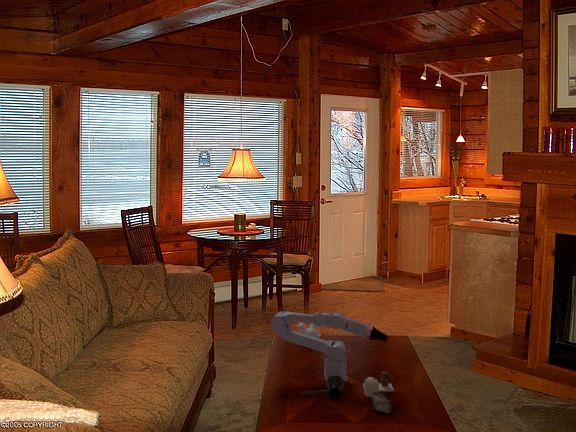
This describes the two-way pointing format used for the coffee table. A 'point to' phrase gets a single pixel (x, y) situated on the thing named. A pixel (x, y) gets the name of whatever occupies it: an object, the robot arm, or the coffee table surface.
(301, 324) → the character figurine
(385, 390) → the grey board
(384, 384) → the walnut post
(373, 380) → the beige block
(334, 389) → the coffee pot
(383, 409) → the mineral rock
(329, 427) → the coffee table surface
